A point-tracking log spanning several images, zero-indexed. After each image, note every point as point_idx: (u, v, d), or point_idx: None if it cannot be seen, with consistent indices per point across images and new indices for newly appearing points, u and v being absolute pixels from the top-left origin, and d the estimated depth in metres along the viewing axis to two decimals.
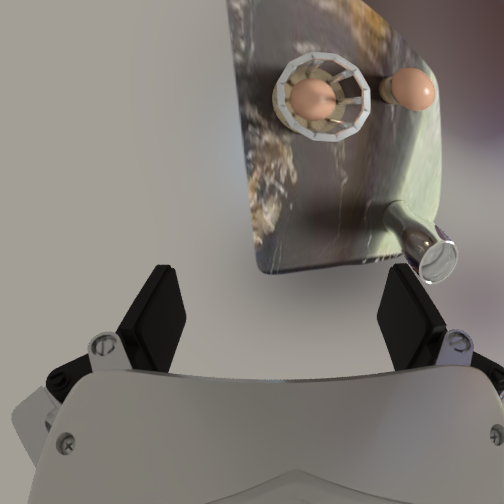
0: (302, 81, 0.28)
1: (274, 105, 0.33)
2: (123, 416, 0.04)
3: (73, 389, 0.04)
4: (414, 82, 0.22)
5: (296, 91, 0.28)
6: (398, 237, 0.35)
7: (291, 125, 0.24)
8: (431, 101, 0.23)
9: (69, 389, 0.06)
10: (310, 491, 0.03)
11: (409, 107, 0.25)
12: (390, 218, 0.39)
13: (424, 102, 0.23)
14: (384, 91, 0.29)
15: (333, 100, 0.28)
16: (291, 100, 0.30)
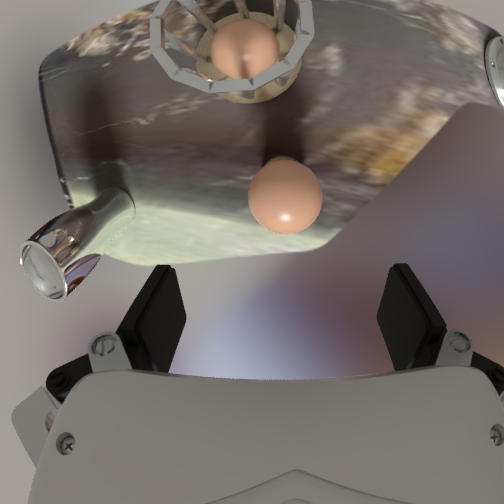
0: (270, 30, 0.16)
1: (237, 14, 0.18)
2: (123, 416, 0.04)
3: (73, 389, 0.04)
4: (293, 192, 0.18)
5: (252, 21, 0.15)
6: None
7: None
8: (268, 225, 0.21)
9: (69, 389, 0.06)
10: (310, 491, 0.03)
11: (250, 187, 0.21)
12: (105, 195, 0.28)
13: (262, 212, 0.20)
14: (278, 159, 0.25)
15: (242, 69, 0.18)
16: (239, 19, 0.16)
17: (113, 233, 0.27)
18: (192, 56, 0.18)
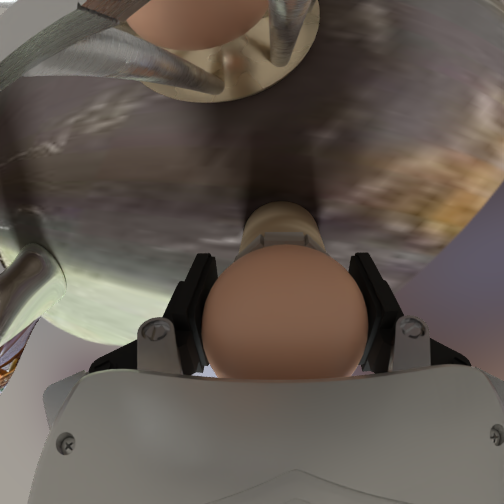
0: None
1: None
2: (123, 416, 0.04)
3: (73, 389, 0.04)
4: (307, 365, 0.07)
5: None
6: None
7: None
8: None
9: None
10: (310, 491, 0.03)
11: (203, 319, 0.09)
12: (21, 261, 0.16)
13: None
14: (271, 217, 0.13)
15: (180, 21, 0.06)
16: None
17: (33, 320, 0.15)
18: None
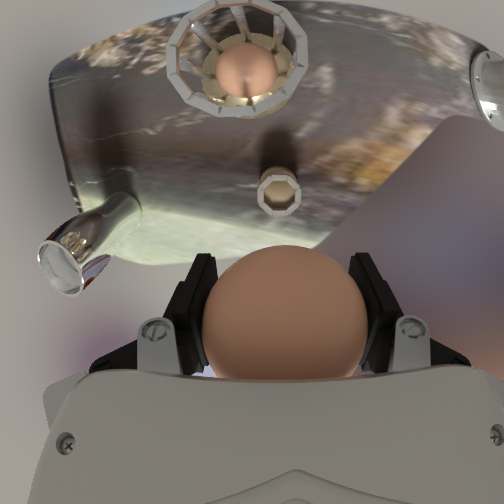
0: (270, 54, 0.20)
1: (239, 35, 0.22)
2: (123, 416, 0.04)
3: (73, 389, 0.04)
4: (306, 366, 0.07)
5: (254, 45, 0.19)
6: (87, 210, 0.26)
7: (186, 15, 0.12)
8: None
9: None
10: (310, 491, 0.03)
11: (203, 320, 0.09)
12: (115, 199, 0.31)
13: None
14: (274, 170, 0.28)
15: (244, 90, 0.21)
16: None
17: (122, 234, 0.30)
18: (199, 76, 0.21)
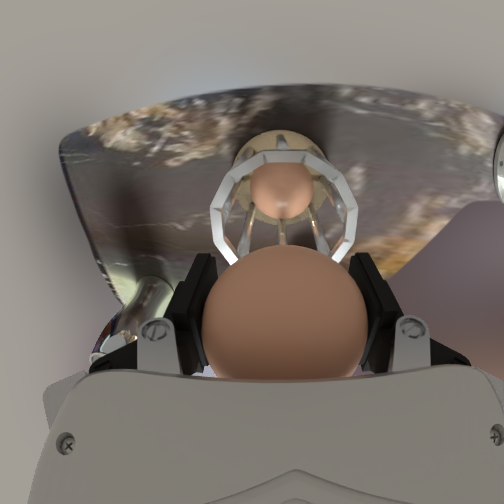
0: (308, 176, 0.23)
1: (271, 132, 0.25)
2: (123, 416, 0.04)
3: (73, 389, 0.04)
4: (307, 366, 0.07)
5: (292, 168, 0.22)
6: (127, 308, 0.30)
7: (230, 173, 0.16)
8: None
9: None
10: (310, 491, 0.03)
11: (203, 319, 0.09)
12: (149, 288, 0.34)
13: None
14: None
15: (281, 217, 0.24)
16: None
17: None
18: None
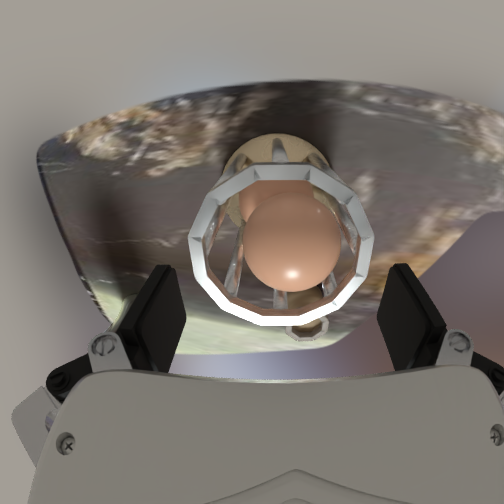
0: (306, 187, 0.19)
1: (267, 137, 0.22)
2: (123, 416, 0.04)
3: (73, 389, 0.04)
4: (322, 256, 0.14)
5: None
6: None
7: (212, 194, 0.12)
8: (282, 290, 0.16)
9: (69, 389, 0.06)
10: (310, 491, 0.03)
11: (252, 247, 0.15)
12: None
13: (278, 282, 0.15)
14: (301, 295, 0.28)
15: None
16: None
17: None
18: None
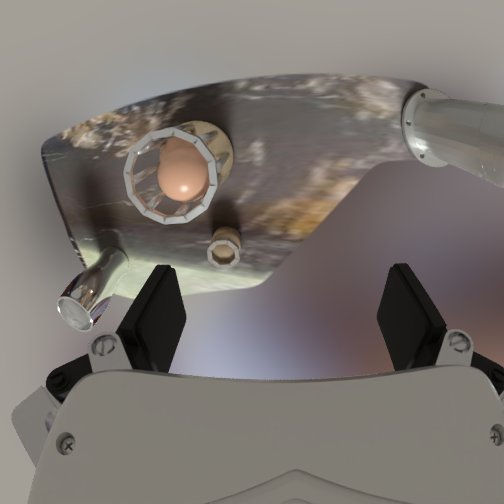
0: None
1: (184, 124, 0.32)
2: (123, 416, 0.04)
3: (73, 389, 0.04)
4: (204, 178, 0.26)
5: None
6: (88, 268, 0.36)
7: (132, 148, 0.23)
8: (186, 201, 0.27)
9: (69, 389, 0.06)
10: (310, 491, 0.03)
11: (166, 181, 0.25)
12: (107, 255, 0.41)
13: (183, 197, 0.26)
14: (220, 233, 0.39)
15: None
16: None
17: (116, 282, 0.40)
18: None
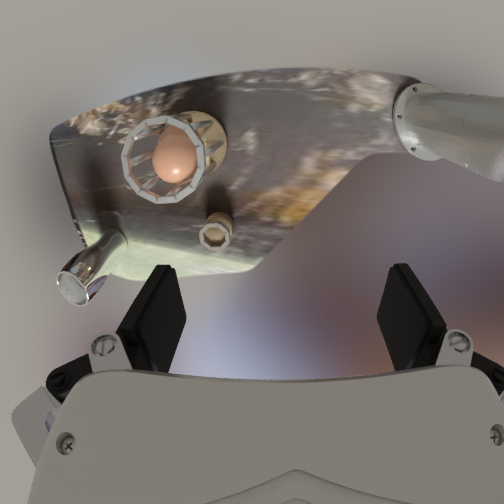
0: None
1: (182, 113, 0.34)
2: (123, 416, 0.04)
3: (73, 389, 0.04)
4: (193, 161, 0.27)
5: None
6: (88, 246, 0.39)
7: (130, 134, 0.25)
8: (177, 183, 0.29)
9: (69, 389, 0.06)
10: (310, 491, 0.03)
11: (159, 164, 0.27)
12: (107, 236, 0.43)
13: (174, 179, 0.28)
14: (212, 217, 0.40)
15: None
16: None
17: (114, 261, 0.42)
18: None
